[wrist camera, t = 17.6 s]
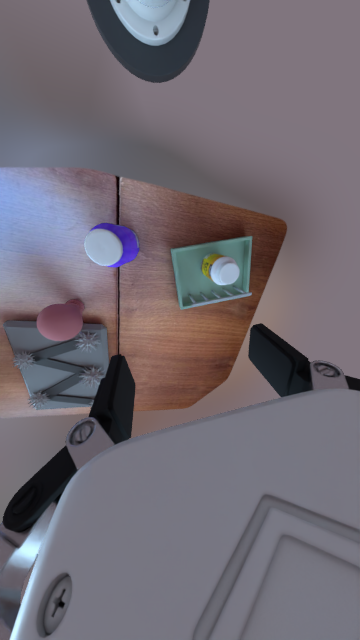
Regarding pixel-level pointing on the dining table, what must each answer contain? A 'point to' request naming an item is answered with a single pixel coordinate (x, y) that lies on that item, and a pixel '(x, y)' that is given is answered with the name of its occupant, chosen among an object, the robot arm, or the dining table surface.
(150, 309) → the dining table surface
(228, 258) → the supplement bottle
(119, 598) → the robot arm
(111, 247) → the bottle
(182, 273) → the dish rack
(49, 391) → the decorative plate
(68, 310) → the light bulb
